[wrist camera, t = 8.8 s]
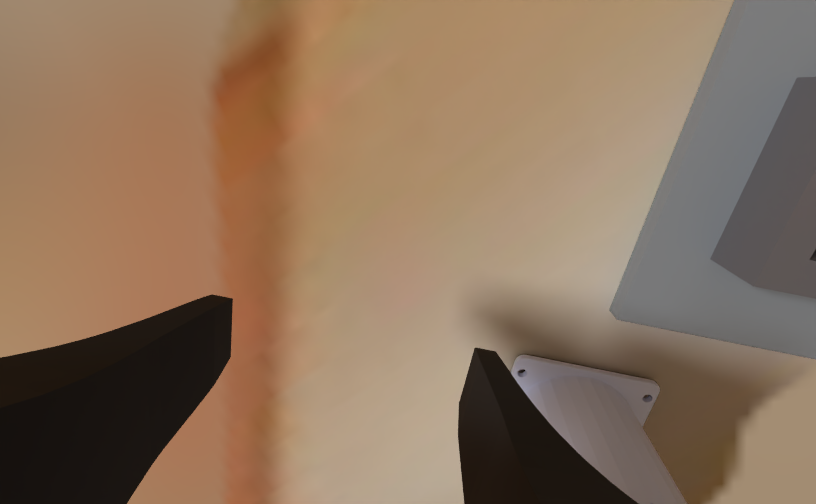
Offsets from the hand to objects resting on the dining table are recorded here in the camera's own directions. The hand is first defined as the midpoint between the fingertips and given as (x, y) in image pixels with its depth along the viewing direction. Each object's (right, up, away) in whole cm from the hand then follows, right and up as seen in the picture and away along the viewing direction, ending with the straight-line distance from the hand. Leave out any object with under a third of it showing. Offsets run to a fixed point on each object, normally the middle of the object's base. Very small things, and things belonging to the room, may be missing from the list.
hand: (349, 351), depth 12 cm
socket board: (+21, +6, +7) cm, 23 cm away
